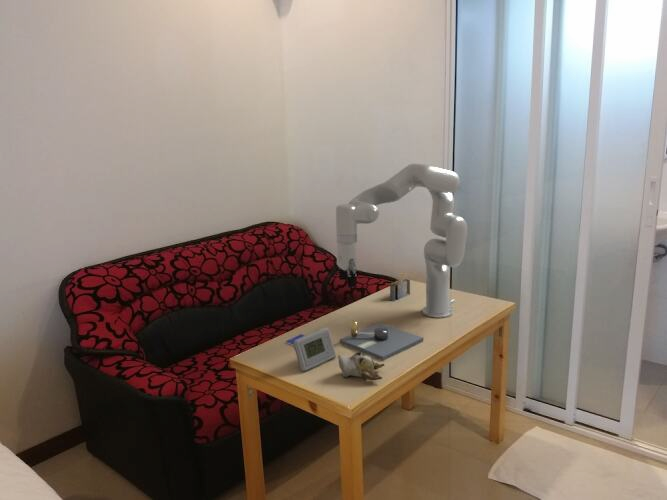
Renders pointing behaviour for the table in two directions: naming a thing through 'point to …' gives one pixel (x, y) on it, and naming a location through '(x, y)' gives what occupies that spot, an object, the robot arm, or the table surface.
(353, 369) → the ceramic sculpture
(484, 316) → the table surface
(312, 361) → the digital clock
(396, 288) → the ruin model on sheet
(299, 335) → the hard drive
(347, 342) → the dial plate
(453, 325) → the table surface
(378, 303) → the table surface
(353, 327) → the lever
